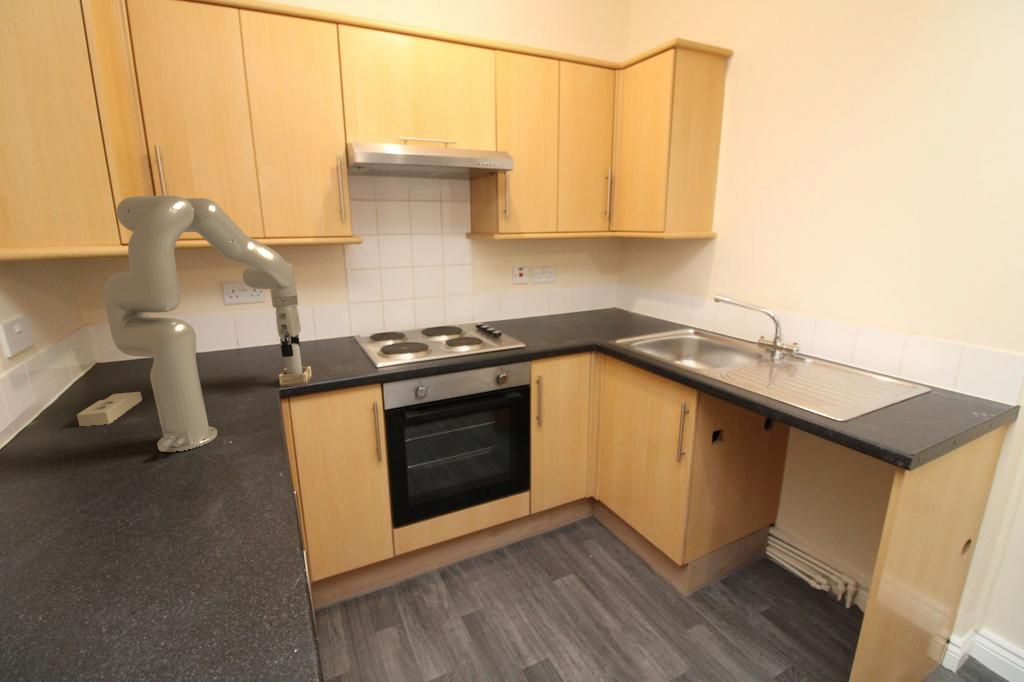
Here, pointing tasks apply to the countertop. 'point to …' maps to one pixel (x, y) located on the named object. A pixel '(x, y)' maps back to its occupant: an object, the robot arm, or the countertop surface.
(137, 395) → the electrical outlet
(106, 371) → the countertop surface
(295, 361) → the beverage can
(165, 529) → the countertop surface
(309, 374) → the can holder block
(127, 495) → the countertop surface
